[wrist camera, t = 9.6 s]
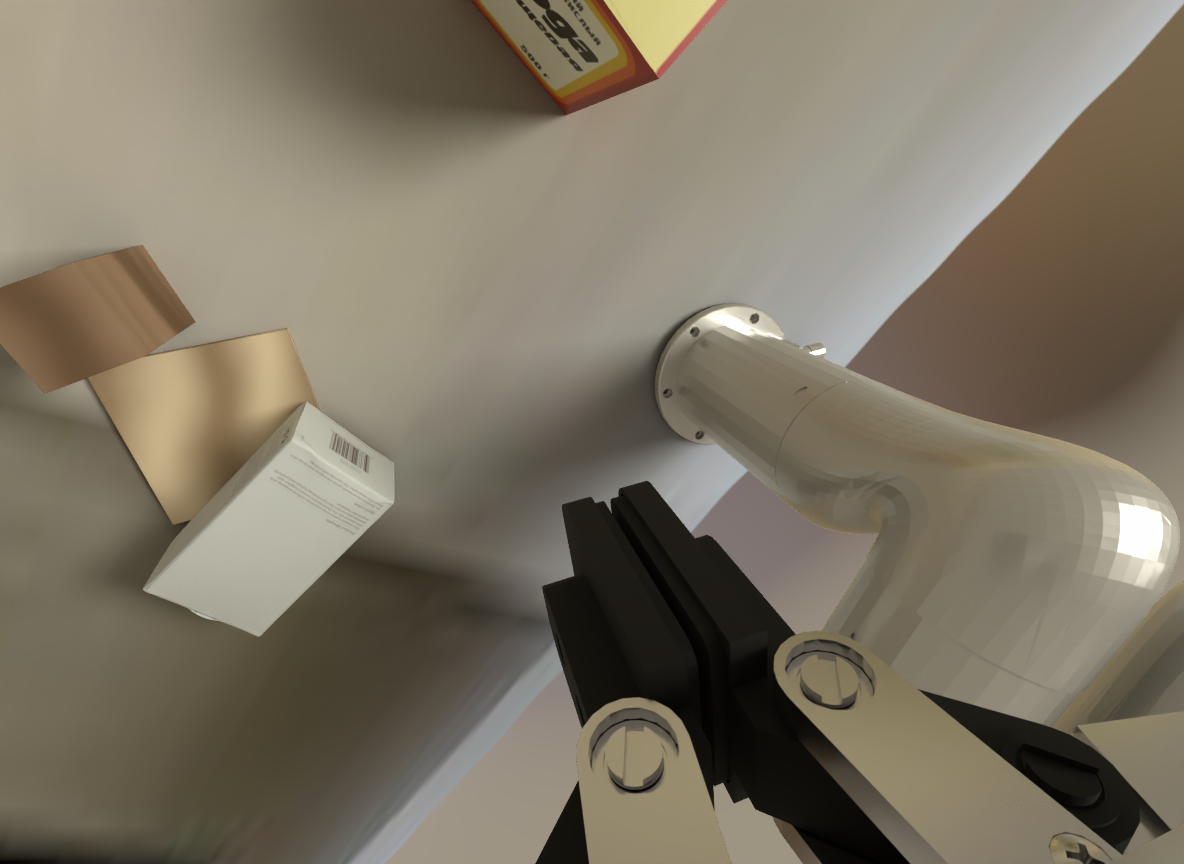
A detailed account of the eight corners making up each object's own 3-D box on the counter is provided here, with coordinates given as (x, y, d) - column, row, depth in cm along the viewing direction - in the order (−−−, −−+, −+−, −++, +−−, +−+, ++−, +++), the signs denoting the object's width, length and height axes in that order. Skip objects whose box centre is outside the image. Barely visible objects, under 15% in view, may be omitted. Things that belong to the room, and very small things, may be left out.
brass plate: (288, 327, 37) (286, 329, 37) (346, 478, 43) (345, 481, 42) (85, 367, 35) (82, 368, 34) (174, 521, 40) (172, 524, 40)
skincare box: (306, 398, 39) (166, 533, 40) (291, 438, 34) (132, 591, 35) (401, 465, 43) (271, 585, 45) (400, 510, 38) (253, 643, 40)
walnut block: (142, 245, 33) (72, 262, 26) (195, 321, 36) (144, 356, 29) (56, 274, 33) (-38, 300, 26) (116, 351, 35) (44, 393, 28)
